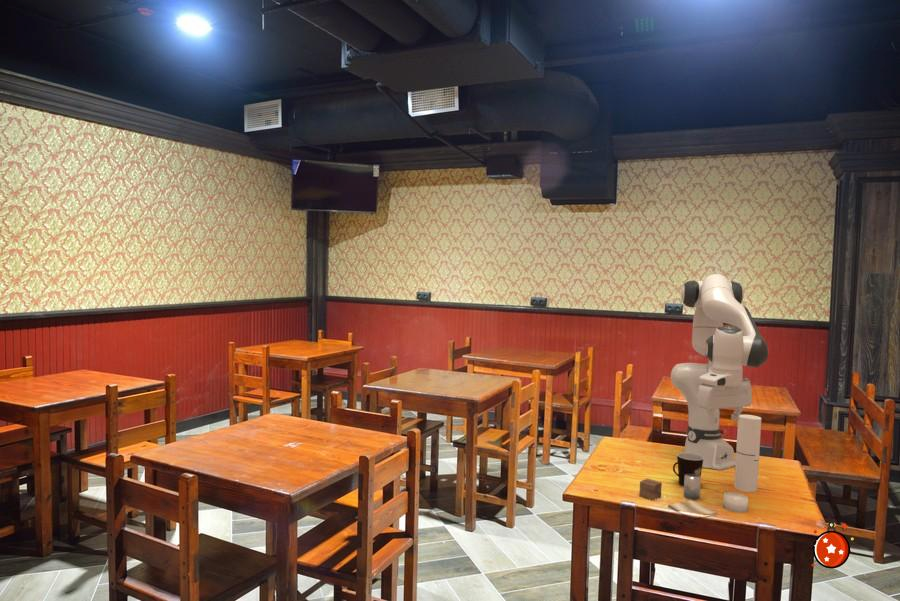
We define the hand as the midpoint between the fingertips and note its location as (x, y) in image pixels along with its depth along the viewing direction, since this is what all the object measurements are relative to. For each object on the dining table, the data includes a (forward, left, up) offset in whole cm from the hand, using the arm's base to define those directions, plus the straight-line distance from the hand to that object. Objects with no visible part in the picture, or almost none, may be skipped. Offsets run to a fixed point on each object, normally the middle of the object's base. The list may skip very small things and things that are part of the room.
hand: (724, 421), depth 191 cm
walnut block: (+16, -14, -27) cm, 34 cm away
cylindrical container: (-22, -9, -27) cm, 36 cm away
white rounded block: (-3, +3, -27) cm, 28 cm away
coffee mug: (-4, -19, -27) cm, 33 cm away
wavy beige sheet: (+12, 0, -27) cm, 30 cm away
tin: (+3, -9, -27) cm, 29 cm away
